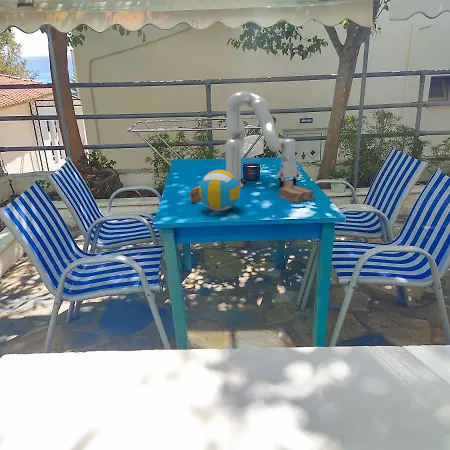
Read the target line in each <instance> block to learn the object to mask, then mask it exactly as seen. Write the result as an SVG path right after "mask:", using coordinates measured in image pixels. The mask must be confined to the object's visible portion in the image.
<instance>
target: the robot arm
mask: <svg viewBox="0 0 450 450" xmlns="http://www.w3.org/2000/svg"><path fill="white" fill-rule="evenodd" d="M244 106H245V107H248V108H251V109H252V110H253V112H254V115H255V117H256V119H257V122H258V123H259V125H260V129H261V133H262V135H263V138H264V141H265V143H266V144H267V145H266V146H267V148H268V149H269V150H270V151H271V152H272V153H277V152H279V151H280V150H282V157H281V158H280V160H281V164H280V171H279V172H277V173H276V178H277V180H278V181H279V187H280V188H282V187H283V183H284V182H283V180H285V179H289V178H292V181H293V186H297V180H298V178H299V176H300V174H301V171H300V170H298V166H297V160H296V140H295V138H282V137H278V135H277V133H276V130H275V121H274V118H273V116H272V114H271V112H270V110H269V108H268V107H269V102H268V100H267V99H266V98H264V97H262V96H259V95H258V94H255V93H253V92H250V91H248V90H241V91H238V92H235V93H234V94H231V95H230V97H229V98H228V100H227V102H226V132H227V134H228V135H230V138H228V139H227V141H226V142H225V143H224V148H225V149H224V150H225V168H226V169H225V171H228V172H230V173H231V174H232V175H234V177H235V178H236V179H237V180H238V183H239V185H240V189H241V188H243V187H244V184H243V183H242V181H241V180H242V176H241V175H242V169H241V168H242V157H241V150H242V149H243V148H244V147H245V146H244V145H245V123H244V121H242V120H241V107H244Z"/></svg>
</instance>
